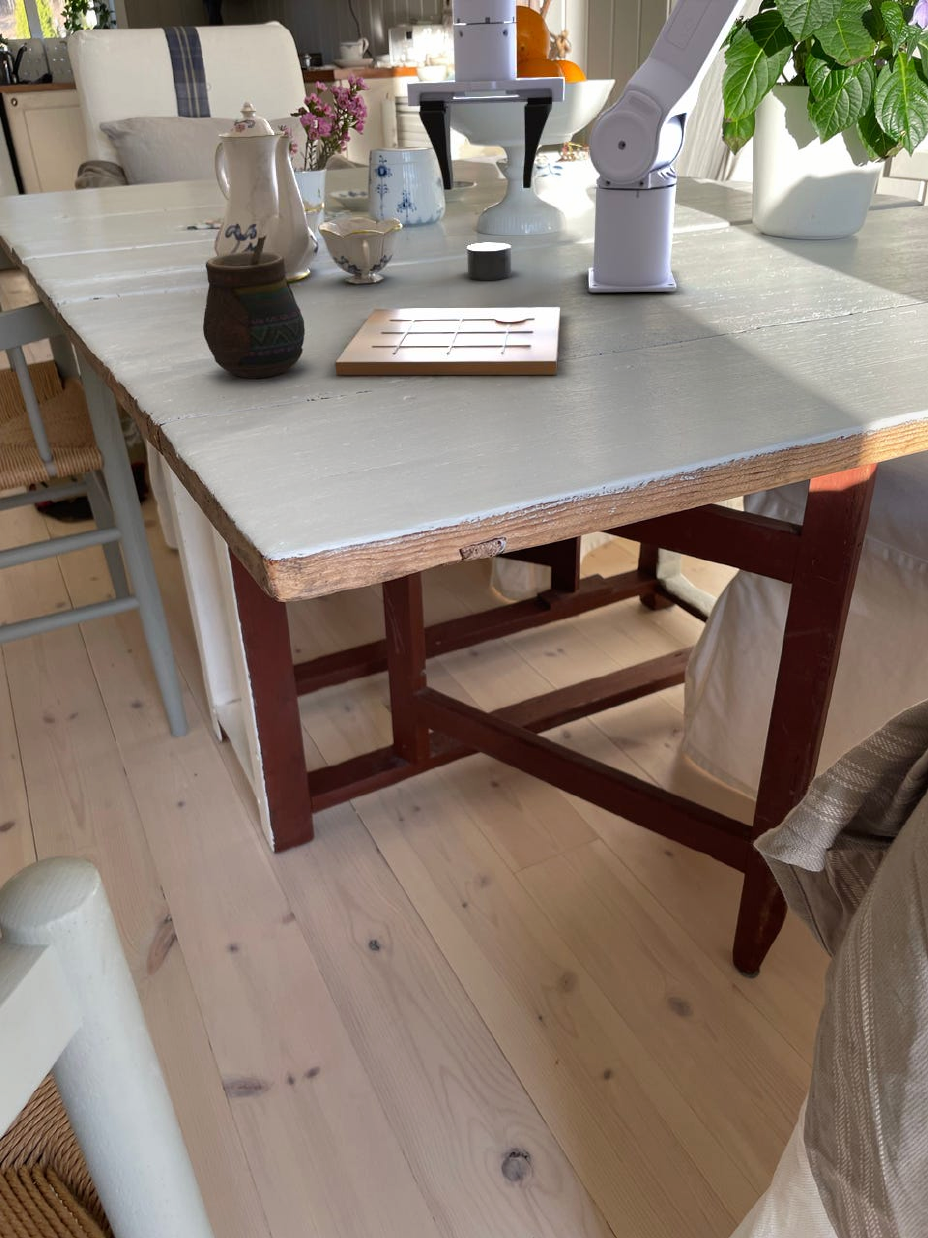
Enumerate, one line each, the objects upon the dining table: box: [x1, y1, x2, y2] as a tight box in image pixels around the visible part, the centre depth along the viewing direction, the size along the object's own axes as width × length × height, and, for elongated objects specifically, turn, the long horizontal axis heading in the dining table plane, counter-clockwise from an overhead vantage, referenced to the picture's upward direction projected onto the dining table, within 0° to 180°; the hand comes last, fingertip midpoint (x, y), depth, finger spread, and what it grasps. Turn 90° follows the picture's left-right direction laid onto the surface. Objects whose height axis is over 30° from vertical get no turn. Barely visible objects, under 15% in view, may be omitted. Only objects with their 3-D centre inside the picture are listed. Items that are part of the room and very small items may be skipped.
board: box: [334, 306, 561, 376], centre depth 77 cm, size 16×16×1 cm
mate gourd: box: [202, 235, 306, 379], centre depth 70 cm, size 7×8×10 cm
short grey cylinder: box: [466, 242, 512, 281], centre depth 98 cm, size 4×4×3 cm
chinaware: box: [213, 100, 404, 285], centre depth 100 cm, size 28×17×17 cm, turn 40°
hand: (487, 187), depth 95 cm, fingers open, 7 cm apart
